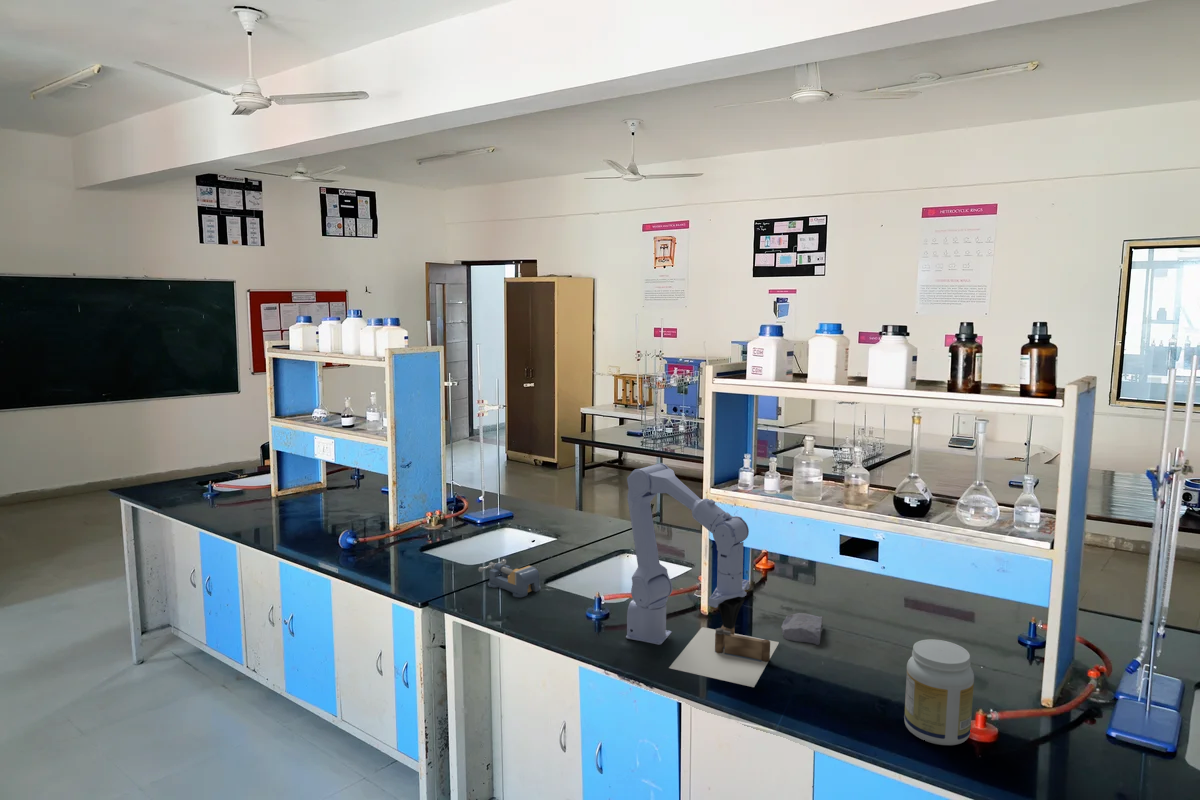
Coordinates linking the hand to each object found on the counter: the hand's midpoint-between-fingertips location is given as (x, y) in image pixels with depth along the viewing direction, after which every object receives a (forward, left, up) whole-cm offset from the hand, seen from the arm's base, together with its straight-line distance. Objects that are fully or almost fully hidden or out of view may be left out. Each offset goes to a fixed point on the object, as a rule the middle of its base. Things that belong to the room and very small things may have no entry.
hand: (728, 627), depth 179 cm
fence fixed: (-4, +11, -9) cm, 15 cm away
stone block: (+12, +25, -10) cm, 30 cm away
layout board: (-2, +5, -10) cm, 11 cm away
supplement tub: (+45, -7, -10) cm, 47 cm away
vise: (-72, +20, -10) cm, 76 cm away
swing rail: (+2, +6, -9) cm, 11 cm away
